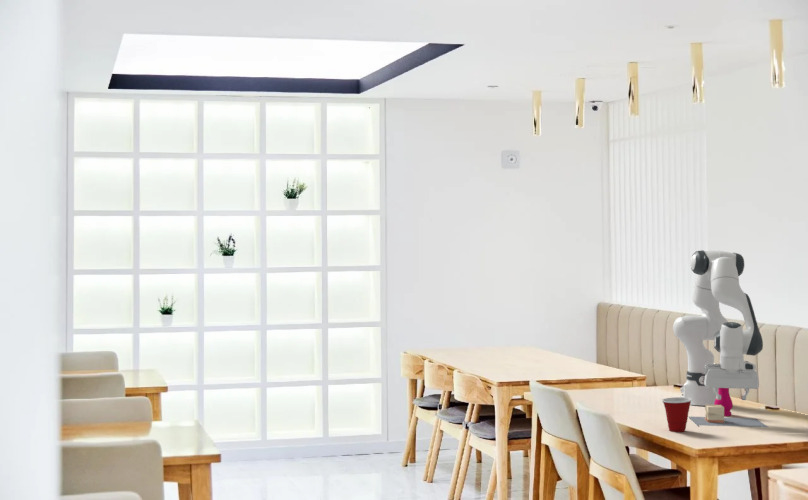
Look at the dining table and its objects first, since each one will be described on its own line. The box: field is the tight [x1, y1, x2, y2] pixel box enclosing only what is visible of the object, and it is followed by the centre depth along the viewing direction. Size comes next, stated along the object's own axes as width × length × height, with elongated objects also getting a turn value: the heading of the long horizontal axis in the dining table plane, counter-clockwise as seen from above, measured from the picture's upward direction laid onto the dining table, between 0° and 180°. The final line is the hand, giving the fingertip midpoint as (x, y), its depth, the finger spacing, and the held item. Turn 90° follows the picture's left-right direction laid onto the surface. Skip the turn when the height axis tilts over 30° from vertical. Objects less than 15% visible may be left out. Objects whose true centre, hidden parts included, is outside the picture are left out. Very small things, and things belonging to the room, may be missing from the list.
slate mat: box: [688, 416, 769, 428], centre depth 375 cm, size 20×26×1 cm
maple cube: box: [704, 405, 725, 423], centre depth 375 cm, size 6×6×6 cm
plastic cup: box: [661, 396, 692, 433], centre depth 356 cm, size 11×11×12 cm
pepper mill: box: [714, 388, 734, 417], centre depth 391 cm, size 7×7×20 cm
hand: (731, 399), depth 375 cm, fingers open, 8 cm apart
